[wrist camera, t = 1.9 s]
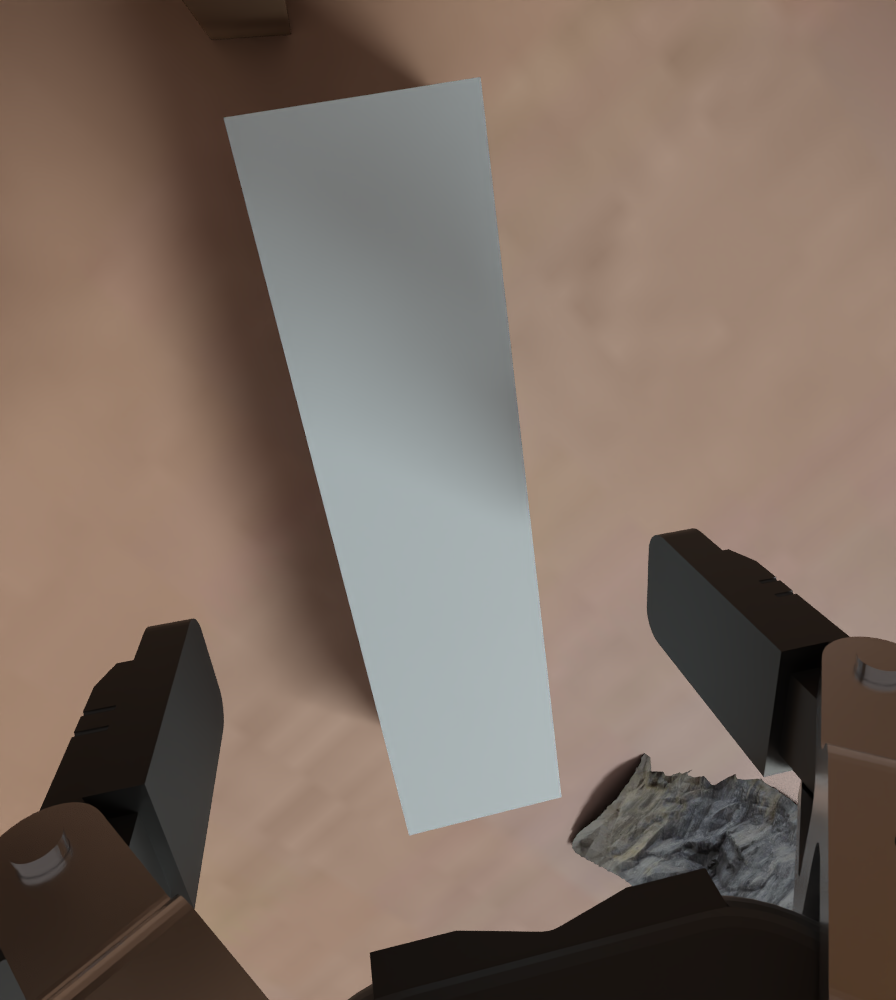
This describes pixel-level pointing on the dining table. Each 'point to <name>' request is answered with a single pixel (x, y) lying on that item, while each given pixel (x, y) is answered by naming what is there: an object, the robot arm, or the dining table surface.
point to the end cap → (240, 17)
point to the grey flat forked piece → (698, 834)
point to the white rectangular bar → (412, 427)
